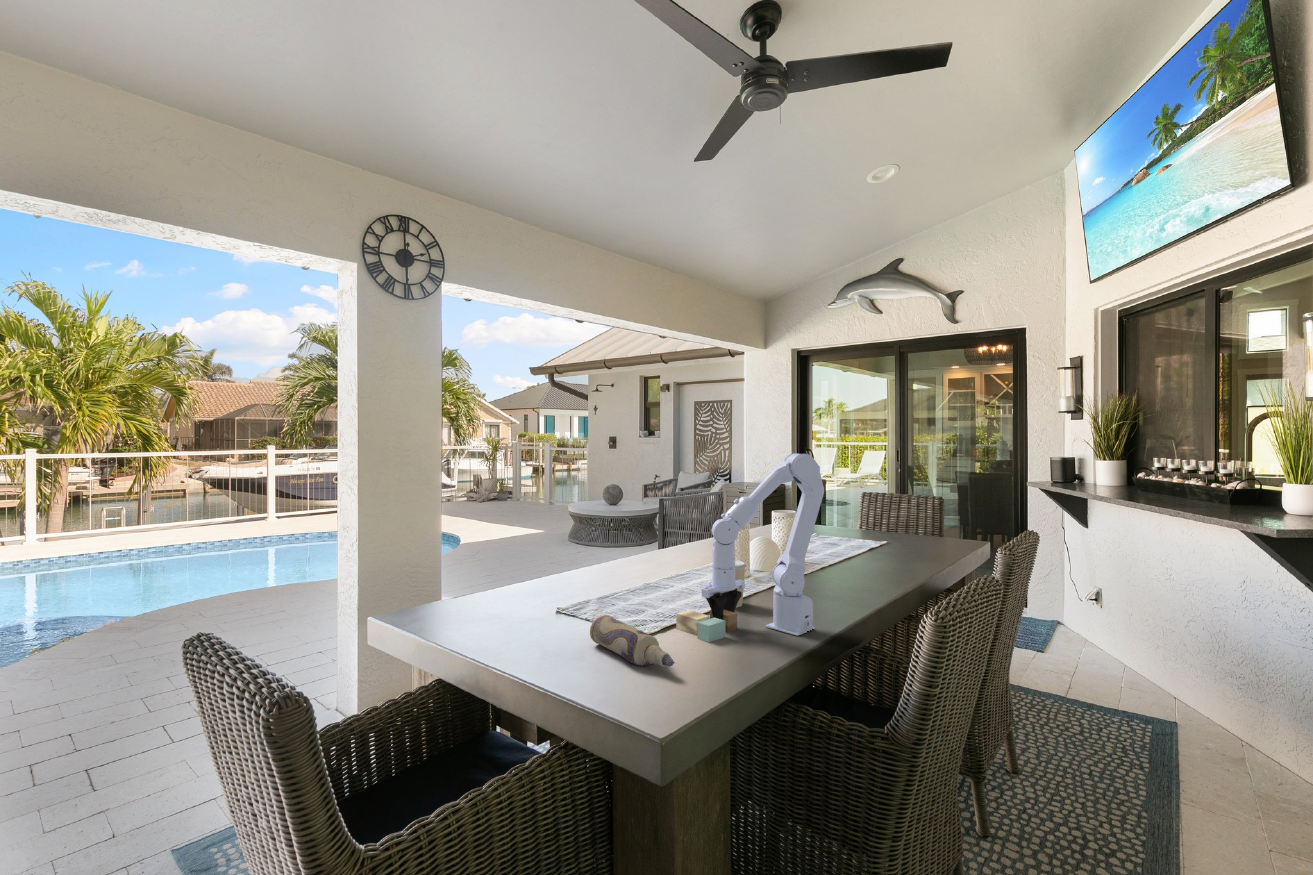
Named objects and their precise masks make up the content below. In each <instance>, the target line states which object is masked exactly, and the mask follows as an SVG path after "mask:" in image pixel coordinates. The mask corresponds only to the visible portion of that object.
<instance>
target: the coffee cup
mask: <svg viewBox="0 0 1313 875" xmlns="http://www.w3.org/2000/svg"><path fill="white" fill-rule="evenodd" d="M746 567H747V566H746V565H745V562H744V561H742V560H737V559H735V580H742V581H745V576H746V573H745V572H746V571H745V570H746ZM744 589H745V588H744ZM744 589H737V591H740V592H742V596H741V598H740V599H739V601H738V603H737V606H736V609H737V608H740V607H742V606H743V600H744Z"/></svg>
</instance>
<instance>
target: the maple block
mask: <svg viewBox="0 0 1313 875" xmlns="http://www.w3.org/2000/svg"><path fill="white" fill-rule="evenodd" d="M675 619H676V620H675V621H676V624H675V626H676V627H675V628H676V630H679V631H681V632H682V631H683V632H685V633H688V634H691V635H694V636H698V622H701V621H704V620H708V619H710V615H707V614H703V613H699V612H698V611H694V610H693V611H692V610H691V609H687V610H684V611H681V612H677V613H676V616H675Z"/></svg>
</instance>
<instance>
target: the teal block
mask: <svg viewBox="0 0 1313 875" xmlns="http://www.w3.org/2000/svg"><path fill="white" fill-rule="evenodd" d="M723 638H726V631H725V621H724V620H721V619H718V618H711V619H710V618H709V619H708V620H704V621H701V622H698V635H697V639H698V640H700V641H703V642H706V643H710V642H714V641H717V640H720V639H723Z"/></svg>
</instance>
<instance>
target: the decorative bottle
mask: <svg viewBox="0 0 1313 875" xmlns="http://www.w3.org/2000/svg"><path fill="white" fill-rule="evenodd" d="M589 637H590V639H591V640H592V641H593V643H595V644H598V645H600V646H601V647H604V648H606V649H607V650H609V651H612V652H613V653H615V654H617V655H619V656H621V657H622V658H623V659H624V660H625V661H627V662H628V663H631V664H632V665H635V666H638V667H644V666H645V667H646V666H648V665H658V666H660V667H669V668H670V667H672V666H674V664H675V661H674V659H673V658H672V657H671V654H670V653H668V652H666V651H664V650H663V649H662V648H661V647H660V642H659V641H658V639H657V638H656V637H655V636H653V635H651V634H649V633H646V632H645V631H643V630H640V629H638V628H636V627H635V626H631V625H630V624H627V623H625V622H622V621H620V620H619V619H617V618H614V617H613V616H611V615H609V614H603V615H600V616H598V617H596V618H595V619H593V621H592V623H591V625H590V627H589Z"/></svg>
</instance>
